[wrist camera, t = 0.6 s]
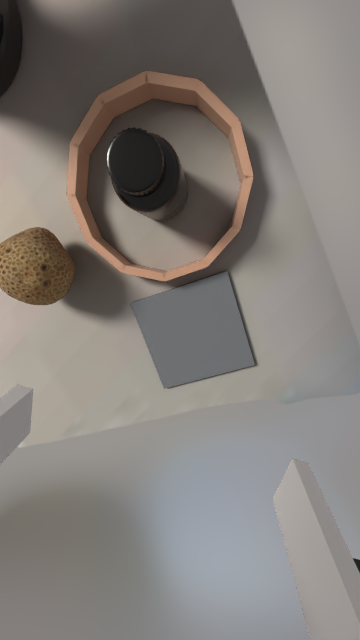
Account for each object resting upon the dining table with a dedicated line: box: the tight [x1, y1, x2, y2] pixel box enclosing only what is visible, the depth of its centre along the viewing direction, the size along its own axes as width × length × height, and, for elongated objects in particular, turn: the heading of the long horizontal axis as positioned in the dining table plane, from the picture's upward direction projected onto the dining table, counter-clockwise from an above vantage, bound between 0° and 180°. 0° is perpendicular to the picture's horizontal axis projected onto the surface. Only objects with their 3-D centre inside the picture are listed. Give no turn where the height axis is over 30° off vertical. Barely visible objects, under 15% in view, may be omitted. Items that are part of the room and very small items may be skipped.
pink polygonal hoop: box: [67, 71, 254, 281], centre depth 31 cm, size 21×21×3 cm
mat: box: [130, 271, 255, 389], centre depth 36 cm, size 14×14×1 cm
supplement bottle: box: [106, 128, 188, 220], centre depth 26 cm, size 7×7×12 cm
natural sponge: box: [0, 227, 75, 305], centre depth 31 cm, size 9×9×10 cm
